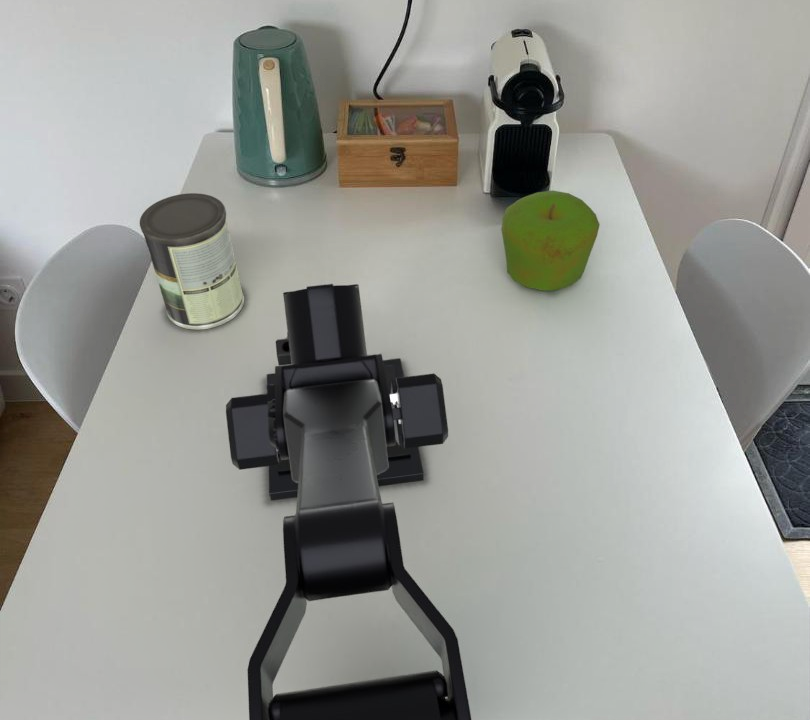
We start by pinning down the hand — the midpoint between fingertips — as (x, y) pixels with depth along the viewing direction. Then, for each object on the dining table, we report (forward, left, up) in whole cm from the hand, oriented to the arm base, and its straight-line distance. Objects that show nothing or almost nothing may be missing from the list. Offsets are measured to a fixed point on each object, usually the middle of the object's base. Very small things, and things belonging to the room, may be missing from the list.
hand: (338, 418), depth 79 cm
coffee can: (+28, +23, -10) cm, 38 cm away
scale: (+7, +2, -9) cm, 12 cm away
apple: (+36, -22, -10) cm, 44 cm away
